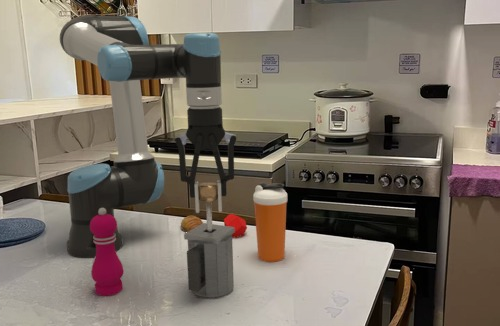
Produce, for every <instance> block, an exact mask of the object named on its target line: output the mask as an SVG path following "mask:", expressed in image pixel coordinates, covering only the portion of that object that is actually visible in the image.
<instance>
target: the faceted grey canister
mask: <svg viewBox="0 0 500 326" xmlns="http://www.w3.org/2000/svg"><path fill="white" fill-rule="evenodd" d="M234 232H235V227H229V226H224V225H221V224H220V225H219V224H213V223H212V233H208V232H207V222H206V223H205V222H203V223H202V224H201V225H199V226H197V227H196V228H194V229H192V230H190V231H189V232H187V233H186V232H185V233H184V234H183V239H184V240H187V251H186V260H187V261H186V263H187V265H186V266H187V284H188V291H190V293H191V294H192V295H193V296H195V297H197V298H201V299H210V300H211V299H220V298H224V297H226V296H229V295H230V294H231V293H232V292H233V291H234V289H235V288H234V286H235V281H234V256H233V255H234V253H233V248H234V247H233V237H232V234H233V233H234Z"/></svg>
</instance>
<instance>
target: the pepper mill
mask: <svg viewBox="0 0 500 326" xmlns="http://www.w3.org/2000/svg"><path fill="white" fill-rule="evenodd" d="M98 213H99V215H96V216H95V217H94V218H92V220H91V222H90V230H91V232H92V233H93V234H94V236H93V239H94V241H93V242H94V243H95V244H96V257H94V261H93V263H92V266H91V267H92V268H91V278H92V279H91V280H93V281H94V282H95V284H94V292H95V294H96V295H98V296H102V297H103V296H105V297H107V296H115V295H116V294H118V293H119V294H120V292H122V290H123V288H124V286H123V284H124V283H123V280H122V277H123V275H124V267H123V263H122V260H120V258H119V256H118V254H117V251H115V246H114V241H115V240H116V237H115V236H116V234H115V233H114V232H115V231H116V229H117V227H118V221H117V218H116V217H115V216H114V217H113V216H112V215H110V214H106V209H105V208H100V209H99V211H98Z"/></svg>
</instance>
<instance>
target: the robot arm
mask: <svg viewBox="0 0 500 326" xmlns="http://www.w3.org/2000/svg"><path fill="white" fill-rule="evenodd" d="M59 44H60V47H61V48H62V50H63V51H64V52H65V53H66V54H67V55H68V56H69V57H71V58H73V59H76V60H79V61H88V62H89V63H91V64H92V65H94V66H96V67H97V69H98V72H99V74H100V76H101V78H102V79H103V80H104V81H106V82H108V83H109V90H110V97H111V104H112V106H111V107H112V113H113V121H114V123H113V124H114V129H115V138H116V145H117V153H118V154H117V156H116V157H115V159H114V160H113V165H114V167H111V166H110V164H108V163H97V164H96V163H95V164H89V165H88V164H87V165H85V166H81V167H79V168H75V169H74V170H72V171H71V172H70V173H69V174H68V176H67V193H68V202H69V203H68V204H69V212H70V222H71V223H70V229H69V234H68V235H69V236H68V240H67V241H66V250H67V253H68V254H69V255H70V256H73V257H78V258H95V257H96V244H95V243H94V242H93V241H94V239H93V236H94V234H93V233H92V232H91V230H90V222H91V220H92V218H94V217H95V216H96V215H99V213H98V211H99V209H100V208H105V209H106V214H110V215H112V216H113V217H114V218H115V209H116V210H117V209H120V208H121V209H122V208H125V207H130V206H136V205H141V204H142V205H145V204H148V203H150V202H154V201H155V202H156V201H157V200H158V199H160V197H161V196H162V194H163V191H164V188H165V173H164V169H163V166H162V164H161V163H160V162H159V161H157V160H156V161H155V155H153V153H151V152H150V151H149V146H148V139H147V137H148V136H147V129H146V122H145V121H146V120H145V112H144V104H143V94H142V88H141V87H142V85H141V81H142V80H164V79H165V80H167V79H185V93H186V105H187V106H188V109H186V110H187V130H186V132H185V133H183V134H182V135H177V136H176V137H175V138H174V140H175V142H174V143H175V144H176V146H177V148H178V158H179V159H178V160H179V161H178V162H179V174H180V181H181V182H184V183H188V185H189V186H188V187H189V188H188V189H189V197H190V198H194V200H195V202H194V204H195V213H196V214H199V213H200V200H199V194H198V184H199V181H196V176H197V170H198V164H199V159H200V154H201V151H203V150H211V151H212V154H213V158H214V161H215V165H216V169H217V173H218V176H219V179H220V180H217V184H218V199H217V201H218V202H217V205H218V209H217V210H218V213H223V203H222V202H223V201H222V197H227V193H228V192H227V182H228V181H230V180H232V181H233V180H234V178H235V156H234V155H235V148H234V147H235V145H236V141H237V136H236V134H235V133H229V132H227V131H226V130H225V129H224V124H223V108H222V107H221V106H222V104H223V98H222V97H223V96H222V95H223V93H222V73H221V71H222V70H221V68H222V66H221V60H222V59H221V53H222V52H221V50H220V49H221V47H220V37H219V36H218V34H216V33H214V32H213V33H212V32H201V33H200V32H199V33H196V32H195V33H187V34H185V35H184V38H183V43H171V44H167V43H166V44H165V43H164V44H150V41H149V36H148V31H147V29H146V27H145V25H144V23H143V22H142V21H141V19H139V18H137V17H136V16H128V15H127V16H126V15H89V14H88V15H80V16H77V17H75V18H72V19H70V20H69V21H67V22H66V23H65V24H64V25H63V27H62V28H61V30H60V33H59ZM224 138H225V142H226V144H227V169H228V170H227V171H228V172H227V173H225V171H224V165H223V162H222V158H221V154H220V151H219V148H218V146H219V145H220V143H221V142H222V140H223V139H224ZM187 139H188V140H189V141H190V143H191V144H192V145H193V146H194V153H193V158H192V162H191V168H190V174H189V175H187V162H186V148H185V145H186V144H187ZM114 233H115V234H116V236H115V237H116V240H115V241H114V246H115V251H116V252H118V251H119V250H120V249H121V248H123V236H122V234H121V233H120V232H119V228H118V226H117V229H116V231H115V232H114Z"/></svg>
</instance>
